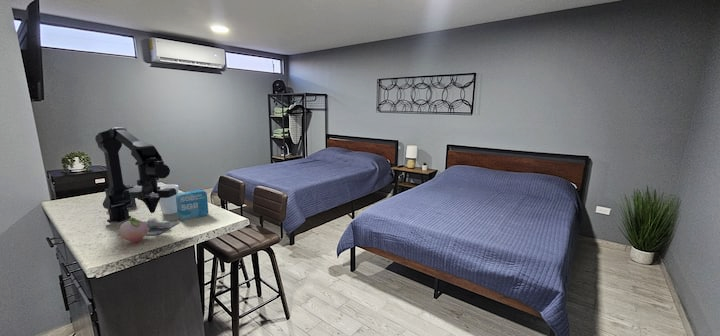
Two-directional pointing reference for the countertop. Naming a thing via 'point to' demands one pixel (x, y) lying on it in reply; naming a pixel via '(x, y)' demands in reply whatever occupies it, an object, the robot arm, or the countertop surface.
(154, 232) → the mat
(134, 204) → the small box
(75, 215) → the countertop surface
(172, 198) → the foam cup
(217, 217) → the countertop surface
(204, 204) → the data package
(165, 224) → the rook chess piece
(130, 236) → the decorative fruit
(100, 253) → the countertop surface
